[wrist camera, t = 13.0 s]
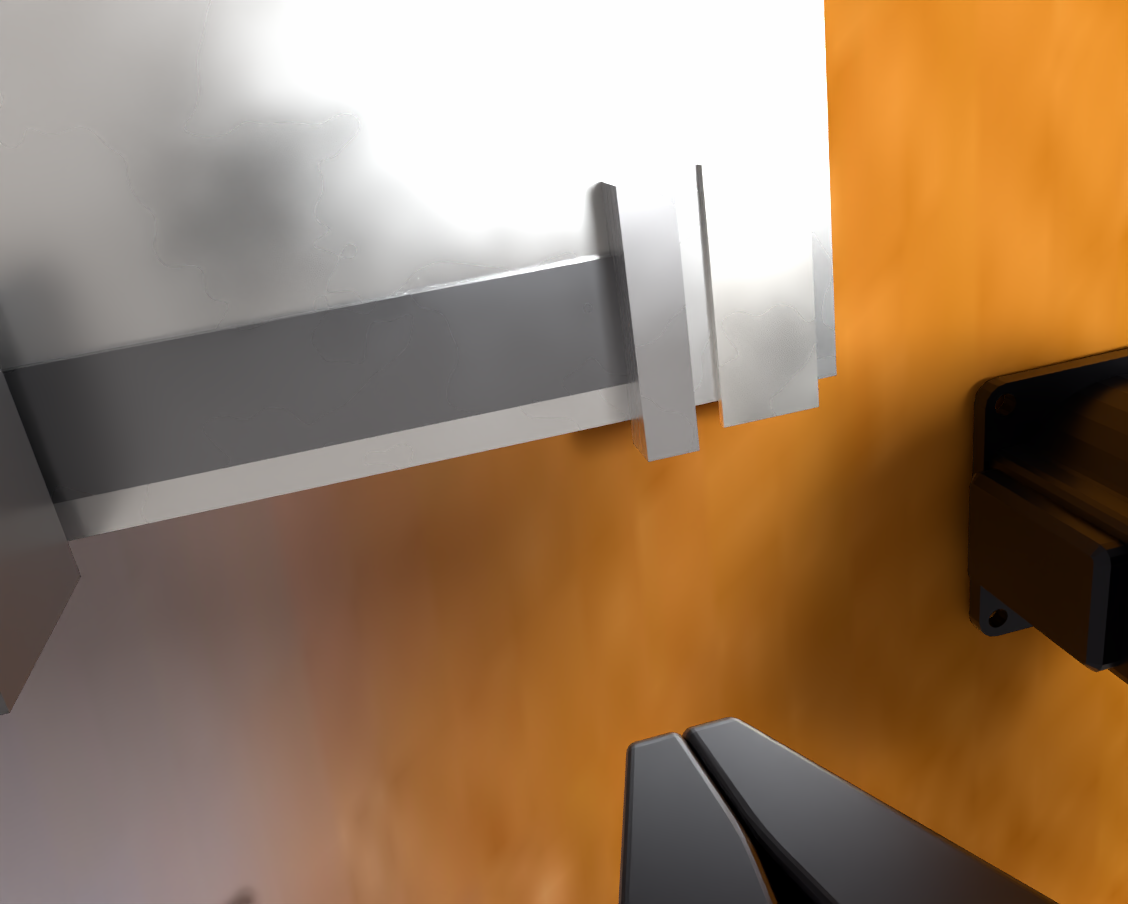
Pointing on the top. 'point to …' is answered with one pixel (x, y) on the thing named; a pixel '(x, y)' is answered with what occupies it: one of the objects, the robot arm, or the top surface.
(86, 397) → the panel
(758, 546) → the top surface
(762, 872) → the robot arm
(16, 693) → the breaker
